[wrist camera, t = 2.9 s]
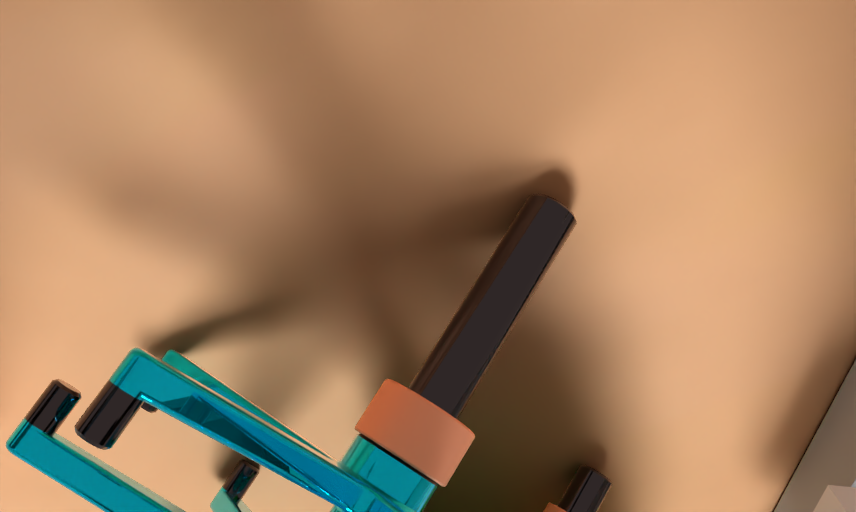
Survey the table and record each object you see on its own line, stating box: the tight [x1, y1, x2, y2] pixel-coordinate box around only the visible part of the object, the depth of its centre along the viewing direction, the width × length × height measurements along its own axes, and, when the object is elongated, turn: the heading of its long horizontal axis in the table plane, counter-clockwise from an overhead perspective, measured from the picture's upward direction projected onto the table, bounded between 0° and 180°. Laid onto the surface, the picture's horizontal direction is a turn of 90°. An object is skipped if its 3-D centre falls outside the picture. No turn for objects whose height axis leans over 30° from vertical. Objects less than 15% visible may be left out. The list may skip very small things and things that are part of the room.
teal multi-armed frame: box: [6, 194, 612, 512], centre depth 12 cm, size 12×7×8 cm
